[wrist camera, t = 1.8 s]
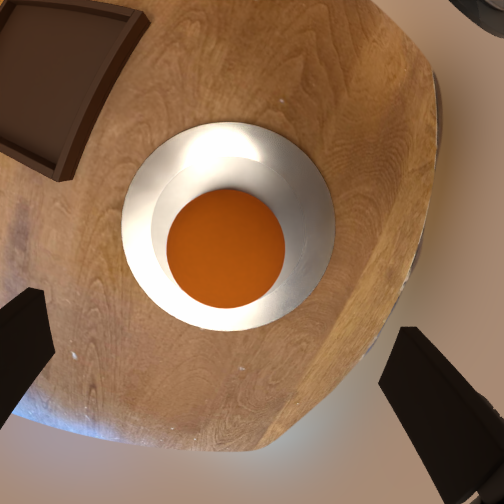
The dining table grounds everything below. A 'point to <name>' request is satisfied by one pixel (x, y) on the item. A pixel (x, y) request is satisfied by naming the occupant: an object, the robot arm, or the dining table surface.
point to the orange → (225, 249)
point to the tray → (59, 76)
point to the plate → (231, 178)
